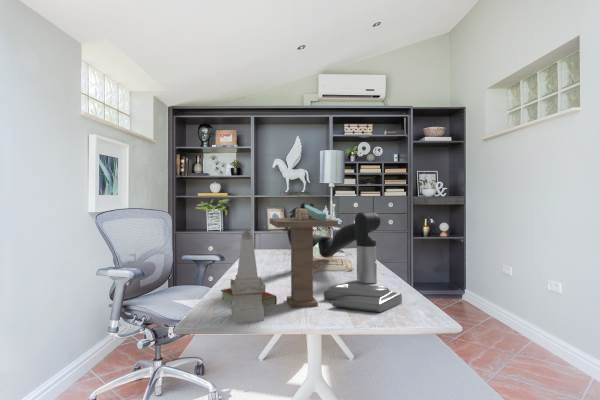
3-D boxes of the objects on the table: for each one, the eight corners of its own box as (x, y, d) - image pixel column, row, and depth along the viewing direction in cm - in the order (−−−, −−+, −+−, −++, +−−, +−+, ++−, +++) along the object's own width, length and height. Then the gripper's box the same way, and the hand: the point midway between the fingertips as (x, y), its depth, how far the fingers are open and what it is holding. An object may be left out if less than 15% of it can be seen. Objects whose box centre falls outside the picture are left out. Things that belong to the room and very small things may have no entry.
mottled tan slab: (300, 277, 189) (355, 275, 189) (300, 266, 189) (355, 264, 188) (301, 264, 217) (349, 262, 217) (301, 254, 217) (349, 252, 216)
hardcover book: (246, 294, 147) (246, 284, 147) (276, 305, 131) (276, 294, 131) (221, 299, 139) (221, 289, 139) (249, 312, 123) (249, 300, 123)
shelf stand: (269, 296, 141) (269, 208, 140) (322, 293, 145) (321, 208, 145) (277, 314, 119) (276, 210, 119) (338, 310, 124) (338, 209, 123)
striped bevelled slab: (339, 301, 117) (318, 282, 144) (339, 317, 117) (318, 295, 144) (414, 296, 123) (380, 278, 150) (414, 311, 123) (380, 291, 150)
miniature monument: (265, 321, 113) (265, 229, 113) (233, 324, 110) (232, 230, 110) (260, 311, 123) (260, 226, 123) (230, 313, 120) (230, 227, 120)
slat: (301, 210, 153) (302, 205, 152) (308, 210, 153) (308, 205, 153) (317, 220, 125) (318, 213, 125) (325, 220, 126) (326, 213, 126)
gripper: (316, 229, 162) (325, 212, 147) (286, 230, 159) (292, 212, 144) (314, 215, 166) (322, 197, 151) (285, 215, 163) (290, 197, 148)
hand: (307, 204), depth 148 cm, fingers closed on slat, 3 cm apart
